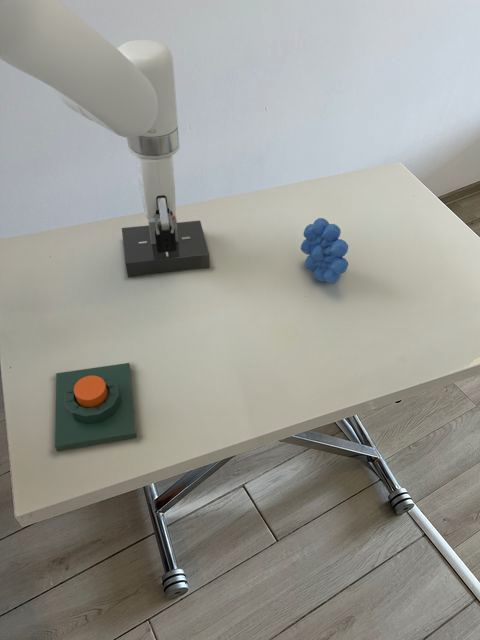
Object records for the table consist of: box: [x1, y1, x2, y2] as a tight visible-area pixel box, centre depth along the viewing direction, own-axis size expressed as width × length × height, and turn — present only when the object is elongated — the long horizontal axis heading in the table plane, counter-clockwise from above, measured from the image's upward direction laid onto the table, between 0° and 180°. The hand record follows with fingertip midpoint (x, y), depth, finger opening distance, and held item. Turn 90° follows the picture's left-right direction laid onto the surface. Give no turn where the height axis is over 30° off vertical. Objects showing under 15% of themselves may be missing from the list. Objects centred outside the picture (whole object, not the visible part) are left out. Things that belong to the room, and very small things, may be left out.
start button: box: [74, 376, 108, 408], centre depth 69 cm, size 4×4×2 cm
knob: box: [147, 214, 178, 244], centre depth 90 cm, size 5×2×5 cm, turn 103°
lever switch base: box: [121, 219, 211, 278], centre depth 93 cm, size 14×10×3 cm
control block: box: [54, 362, 138, 452], centre depth 71 cm, size 10×12×3 cm
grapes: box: [300, 217, 349, 284], centre depth 87 cm, size 12×7×12 cm, turn 29°
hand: (164, 235), depth 91 cm, fingers open, 7 cm apart
